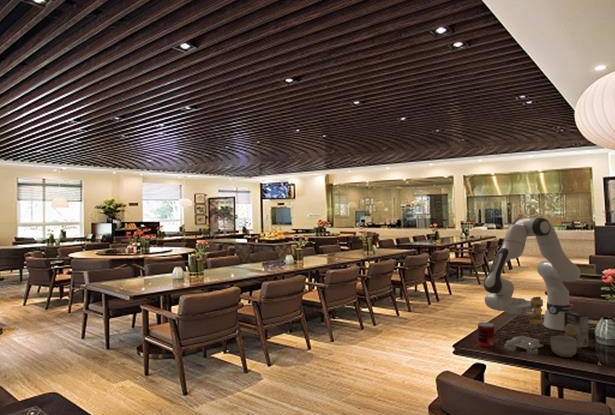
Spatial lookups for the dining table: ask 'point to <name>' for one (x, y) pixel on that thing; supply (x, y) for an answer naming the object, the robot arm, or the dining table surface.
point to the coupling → (536, 305)
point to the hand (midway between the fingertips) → (538, 311)
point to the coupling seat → (521, 343)
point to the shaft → (531, 348)
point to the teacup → (563, 346)
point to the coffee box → (576, 327)
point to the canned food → (486, 334)
